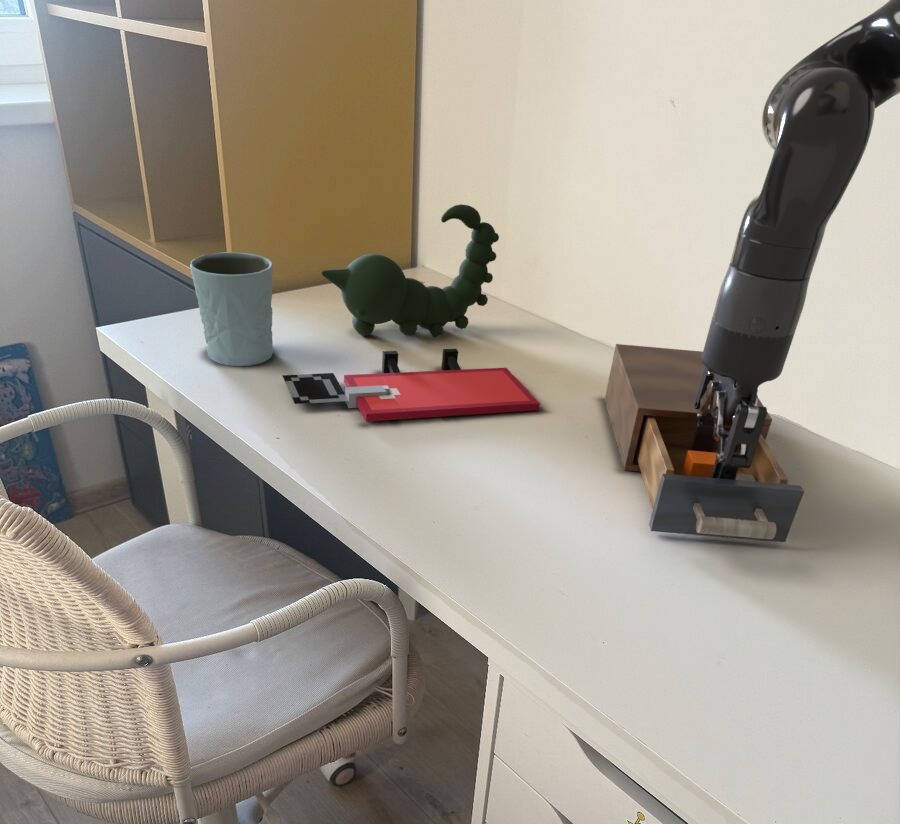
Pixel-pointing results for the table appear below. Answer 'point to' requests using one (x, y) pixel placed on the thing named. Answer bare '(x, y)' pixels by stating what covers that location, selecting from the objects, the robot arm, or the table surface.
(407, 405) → the red board with handle
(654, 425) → the drawer
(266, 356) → the pale green cup
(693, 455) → the orange and grey block
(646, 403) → the cabinet
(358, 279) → the toy figurine
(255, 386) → the table surface
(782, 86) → the robot arm
